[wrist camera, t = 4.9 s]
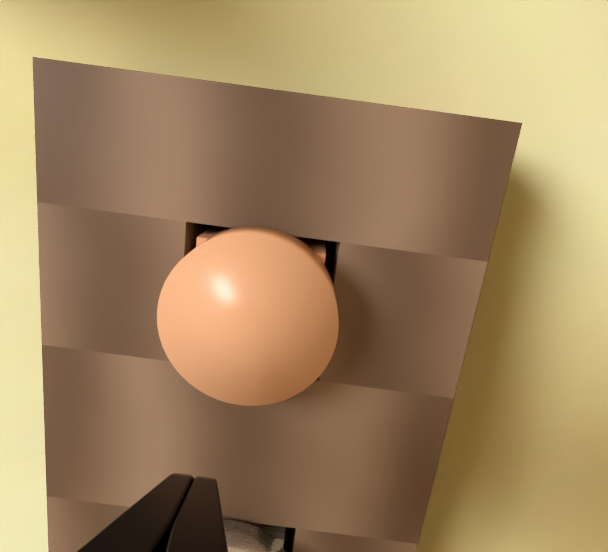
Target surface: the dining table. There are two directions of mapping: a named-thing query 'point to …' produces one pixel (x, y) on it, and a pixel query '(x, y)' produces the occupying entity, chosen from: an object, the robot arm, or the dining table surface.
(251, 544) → the knob steel
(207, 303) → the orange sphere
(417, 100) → the dining table surface
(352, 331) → the brown flat block
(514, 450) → the dining table surface
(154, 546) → the robot arm
